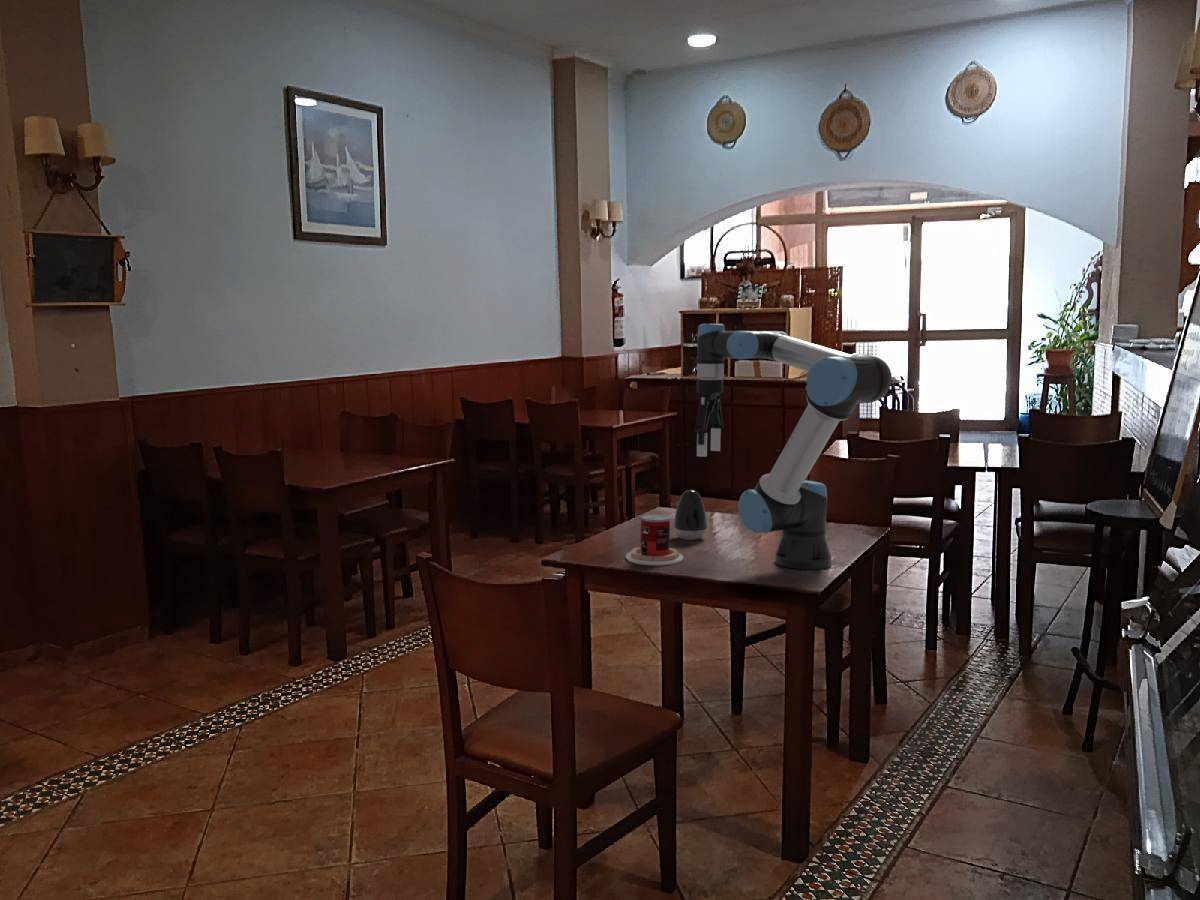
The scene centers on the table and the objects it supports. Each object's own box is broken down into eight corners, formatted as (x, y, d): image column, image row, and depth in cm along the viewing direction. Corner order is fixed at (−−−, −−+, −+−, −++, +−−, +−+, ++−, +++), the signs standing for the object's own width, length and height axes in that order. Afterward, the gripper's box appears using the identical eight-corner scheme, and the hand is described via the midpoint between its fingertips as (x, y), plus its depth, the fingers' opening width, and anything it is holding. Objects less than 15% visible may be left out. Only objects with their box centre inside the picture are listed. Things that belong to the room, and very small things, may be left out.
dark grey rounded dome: (706, 535, 298) (707, 487, 296) (707, 542, 288) (708, 492, 286) (673, 534, 299) (674, 486, 297) (673, 541, 289) (673, 492, 287)
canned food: (642, 551, 272) (643, 513, 270) (670, 553, 270) (671, 515, 269) (638, 558, 264) (639, 519, 263) (667, 559, 263) (668, 520, 261)
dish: (690, 555, 272) (690, 548, 271) (672, 568, 257) (672, 560, 257) (638, 549, 278) (638, 543, 278) (617, 562, 263) (617, 554, 263)
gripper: (709, 376, 282) (708, 447, 285) (683, 380, 259) (682, 458, 262) (734, 377, 279) (733, 449, 282) (710, 381, 257) (708, 459, 259)
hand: (708, 453), depth 272 cm, fingers open, 13 cm apart
